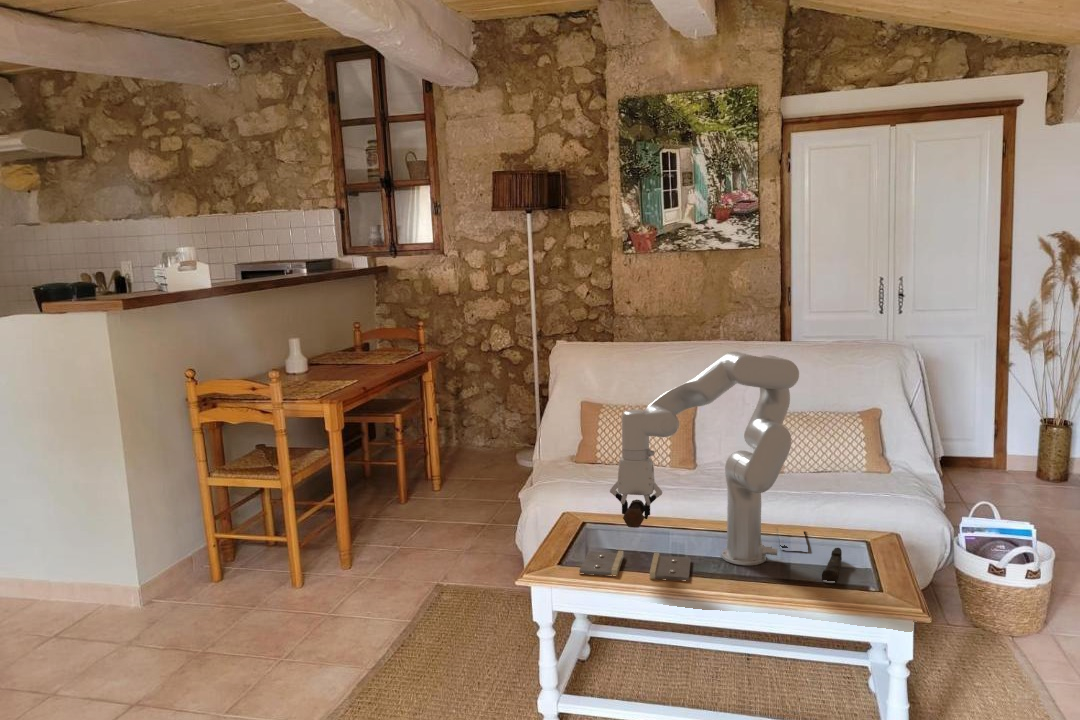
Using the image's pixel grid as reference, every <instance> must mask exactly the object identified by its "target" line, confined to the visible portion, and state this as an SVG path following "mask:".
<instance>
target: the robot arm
mask: <svg viewBox="0 0 1080 720" xmlns="http://www.w3.org/2000/svg"><path fill="white" fill-rule="evenodd" d="M799 379H800V370H799V368H798V366H797V364H796V363H794V362H793V361H792V360H789V359H787V358H783V357H779V356H774V355H762V356H757V355H753V354H752V355H751V354H746V353H742V352H738V351H729V352H728V353H725V354H723V355H722V356H721V357H719V358H718V359H717V360H715V361H714V362H713V363H711V364H710V365H709V366H707V367H706V368H705V369H704V370H702V371H701V372H700V373H698V374H696V376H695V377H693V378H691V379H690V380H688V381H686V382H684V383H682V384H680V385H678V386H676V387H674V388H673V387H672V388H671V389H670V390H668V391H665V392H664V393H662V394H661V395H660V396H658V397H657V398H656V399H655V400H654V401H652V402H651V403H650V404H648V405H647V406H646V408H645V409H644V410H642V409H628V410H625V411H623V413H622V414H621V449H622V450H621V452H622V453H621V455H622V456H620V457H619V461H618V470H617V471H618V472H617V480H616V482H615V483H614V485H612V487H611V488H610V490H609V493H610V494H612V495H613V496H614V497H615V498H616V499H617V500H618V502H620V504H621V514H622V515H623V516H624V515H625V513H626V511H627V510H628V507H629V502H628V500H627V497H628V495H629V496H630V495H631V496H643V498H644V501H645V503H644V505H645V506H644V513H643V516H644V517H645V518H644V520H648V518H649V516H651V504H652V503H653V502H654V501H656V499H657V498H660V497H661V496H662V495H663V490H662V489H661V488H660V487H659V486H658V484H657V483H656V482H655V471H654V470H655V469H654V461H653V458H652V457H651V456H655V450H651V449H650V437H658V438H668V437H671V436H673V435H675V434H676V433H677V432H678V430H679V428H680V421H679V418H678V417H677V415H679V414H680V413H682V412H684V411H686V410H689V409H691V408H697V407H703V406H707V405H710V404H712V403H713V402H714V401H716V400H717V399H718V398H720V397H721V396H722V395H723V394H725V393H726V392H727V391H729V390H730V389H732V388H733V387H734V386H735V385H737V384H738V385H742V386H745V387H747V386H748V387H753V388H759V398H758V401H757V404H756V407H755V409H754V411H753V412H752V414H751V417H750V419H749V420H748V423H747V425H746V428H745V431H744V434H743V435H744V436H743V437H744V438H743V439H744V442H745V443H746V445H748V446H749V447H750V448H752V449H754V450H753V452H751V451H746V450H737V451H734V452H733V453H731V454H730V455H729V456H728V458H727V460H725V461H726V462H725V466H724V474H725V481H726V491H727V492H726V493H727V504H726V505H727V507H726V509H727V510H726V514H727V516H726V518H727V519H726V520H727V521H726V522H727V523H726V525H727V527H726V528H727V529H726V540H727V541H726V548H724V549H723V550H722V551H721V558H722V559H723V560H724V561H726V562H727V563H731V564H733V565H738V566H757V565H760V564H763V563H765V562H766V560H767V555H770V556H778V548H773V546H772V545H764V544H763V542H762V539H761V538H762V494H763V493H765V492H767V491H768V490H770V489H771V488H772V487H773V486H774V484H775V483H776V481H777V479H778V476H779V475H780V473H781V471H782V468H783V467H784V464H785V462H786V460H787V457H788V456H789V453H790V451H791V448H792V436H791V433H790V431H789V429H788V428H787V427H786V426H784V425H783V423H784V421H785V418H786V415H787V413H788V410H789V407H790V403H791V393H790V389H791V388H792V387H794V386H795V385H796V384H797V383H798V381H799ZM654 491H655V493H654Z"/></svg>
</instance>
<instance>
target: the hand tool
mask: <svg viewBox="0 0 1080 720" xmlns="http://www.w3.org/2000/svg"><path fill="white" fill-rule="evenodd" d="M842 555H843V554H842V549H841V547H834V549H833V550H832V551H831V556H830V558H829V561H828V563H827V565H826V566H825V569H824V570H823V571H822V572H821V580H822V581H823V580H827V581H835V582H836V583H837V582H838V581H837V579H838V578H839V573H840V569H841V567H842V558H843V557H842ZM840 566H841V567H840Z"/></svg>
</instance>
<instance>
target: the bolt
mask: <svg viewBox="0 0 1080 720" xmlns="http://www.w3.org/2000/svg"><path fill="white" fill-rule="evenodd" d="M644 506H645V503H644V502H643V501H642V500H641V499H633V500H632V501H631V502H630V504H629V505H628V510H627V511H626V513H625V515H624V514H623V517H622V520H623V521H624V523H625V524H626V526H627V527H628V528H634V529H635V528H636V529H638V528H640V527H641V525H642V523H643V522H644V520H645V516H644Z"/></svg>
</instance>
